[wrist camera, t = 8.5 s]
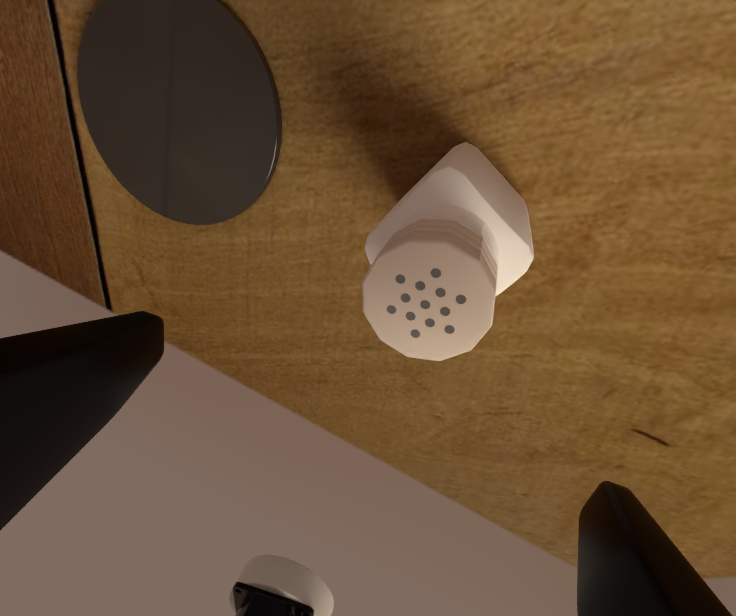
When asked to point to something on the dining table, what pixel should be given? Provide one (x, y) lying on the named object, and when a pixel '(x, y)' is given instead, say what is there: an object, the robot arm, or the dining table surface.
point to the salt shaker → (446, 257)
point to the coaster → (180, 106)
